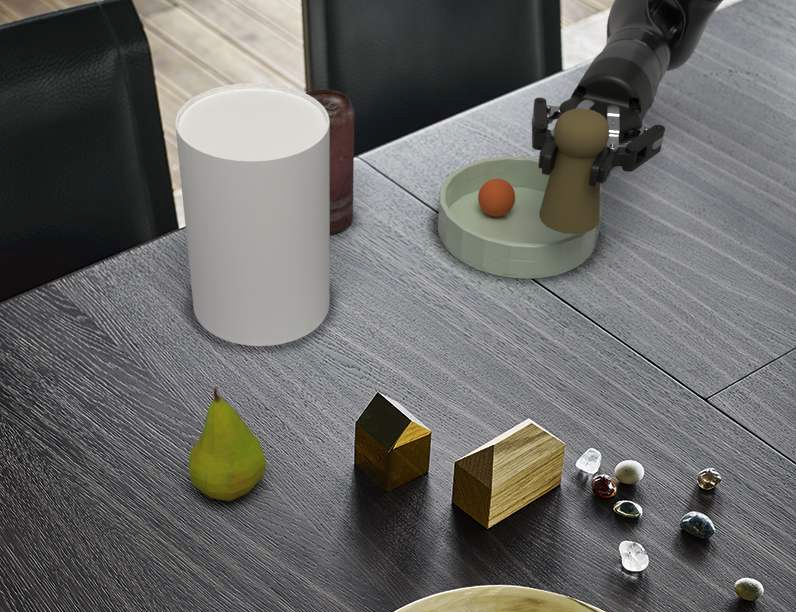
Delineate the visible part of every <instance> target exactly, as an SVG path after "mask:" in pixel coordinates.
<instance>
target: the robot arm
mask: <svg viewBox="0 0 796 612" xmlns="http://www.w3.org/2000/svg"><path fill="white" fill-rule="evenodd" d="M723 1H724V0H614V1H613V2H612V5H611V7H610V10H609V13H608V17H607V23H606V43H605V45H604V46H603V49H602V50H601V52H599V53H597V55H596V56H595V58H594V59H593V61H591V63H590V65H589V67H588V68H587V69H586V71H585V73H584V74H583V76H582V77H581V79H580V81H579V82H578V84H577V85H576V86H575V88H574V90H573V92H572V94H571V96H570V98H569V99H567V100H564V101H562V102H561V104H560V105H559V106H558V105H550V104H548V103H547V99H546V98H544V97H536V98H534V100H533V109H532V117H531V148H532V149H533V150H535V151H539V155H538V159H539V163H538V167H539V168H541V169H542V174H545V175H550V173H551V172H552V170H553V168H554V162H555V158H556V153H557V149H558V147H557V145H556V143H555V140H554V128H552V129H549V126H550V125H551V124H552V123H553V122H554V121H555V120H558V119H559V117H560V116H561V115H562V114H563V113H564V112H566V111H569V110H572V109H579V108H583V109H590V110H593V111H596V112H598V113H600V114H601V115H602V116H604V117H605V119H606V120H607V123H608V125H609V139H608V142H607V144H606V146H605V148H604V149H603V150H602V151H601V152H600V153H599V154H598V156H597V158H596V160H595V161H594V163H593V165H592V168H591V173H590V179H589V185H590V186H594V187H596V186H597V184H598V183H600V184H604V183H605V182H607V180H608V178H609V176H610V175H611V173H612V172H613V171H614V170H615V169H616V168H617V167H619V168H621V169H622V170H623V171H624V172H627V173H631V172H634V171H635V170H637V169H638V168H640V167H641V166H642V165H643V164H645V163H647V162H648V161H649V160H650V159H652V158H653V157H654V156H656V155H657V154H659V153H660V152H661V150H662V146H663V143H664V136H665V132H666V127H665V126H664V125H662V124H654V125H652V126H651V127H647V126H645V125H643V120H644V118H645V117H646V115H647V113H648V111H649V109H651V108H652V106H653V103H654V101H655V97H656V95H657V93H658V89H659V86H660V83H661V82H662V79H663V77H664V76H665V74H666V72H669V71H674V70H676V69H679V68H681V67H682V66H684V65H685V63H686V62H688V60H690V58H691V57H692V56H693V54H694V52H695V51H696V49H697V47H698V45H699V43H700V41H701V38H702V36H703V34H704V32H705V30H706V27H707V26H708V23H709V21H710V19H711V18H712V17H713V15H714V13H715V12H716V10H717V9H718V7H719V6H720V5H721V4H722V3H723ZM624 144H626V145H625V146H621V145H624Z"/></svg>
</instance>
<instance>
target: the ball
mask: <svg viewBox="0 0 796 612" xmlns="http://www.w3.org/2000/svg"><path fill="white" fill-rule="evenodd" d="M478 201H479V205H480V207H481V209H482V210H483V211H484V212H485V213H486V214H488V215H490V216H494V217H498V216H503V215H505V214H507V213H508V212H509V211H510V210H511V209H512V207H513V205H514V203H515V192H514V189H513V187H512V186H511V185H510V184H509V183H508V182H507V181H505V180H503V179H492V180H489V181H487V182H486V183H485V184H484V185H483V186H482V187H481V189H480V191H479V194H478Z"/></svg>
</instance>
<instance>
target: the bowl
mask: <svg viewBox="0 0 796 612" xmlns="http://www.w3.org/2000/svg"><path fill="white" fill-rule="evenodd" d="M538 163H539V158H535V157H527V156H511V155H510V156H509V155H507V156H497V157H496V156H495V157H488V158H482V159H478V160H476V161H473V162H470V163H467V164H464V165H462V166H460V167H459V168H457V169H456V170H454V171H452V172H451V173H450V174H449V175H447V177H446V179H444V182H443V183H442V185H441V187H440V188H439V198H438V213H437V233H438V236H439V239H440V241H441V243H442V245H443V246H444V247H445V249H446V250H447V251H448V252H449V253H450V254H451V255H452V256H453V257H454V258H456V259H457V260H458V261H460V262H461V263H463V264H465V265H466V266H468V267H471V268H473V269H476V270H477V271H480V272H483V273H486V274H489V275H494V276H499V277H504V278H509V279H519V280H520V279H523V280H525V279H526V280H528V279H530V280H532V279H543V278H548V277H549V278H550V277H554V276H558V275H562V274H565V273H568V272H570V271H572V270H575V269H576V268H578V267H579V266H581V265H582V264H583V263H585V262H586V261H587V260H588V259H589V258H590V257H591V256H592V254H593V252H594V250H595V248H596V245H597V242H598V240H599V233H600V229H601V223H602V218H603V213H604V210H603V203H602V196H600V214H599V223H598V225H597V227H595V228H594V229H592V230H591V231H588V232H585V233H579V234H567V233H561V232H558V231H554V230H552V229H550V228H548V227H547V226H546V225H545V224H544V223H542V221H541V219H540V217H539V212H540V208H541V205H542V201H543V197H544V194H545V190H546V187H547V183H548V180H549V176H550V175H545V174H542V169H541V168H539V167H538ZM492 179H503V180H505V181H507V182H508V183H509V184H510V185H511V186H512V187H513V189H514V192H515V203H514V205H513V207H512V209H511V210H510V211H509V212H508V213H507V214H505V215H503V216H498V217H494V216H490V215H488V214H486V213H485V212H484V211H483V210H482V209H481V207H480V205H479V201H478V194H479V191H480V189H481V187H482V186H483V185H484V184H485V183H486V182H487V181H489V180H492Z"/></svg>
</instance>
